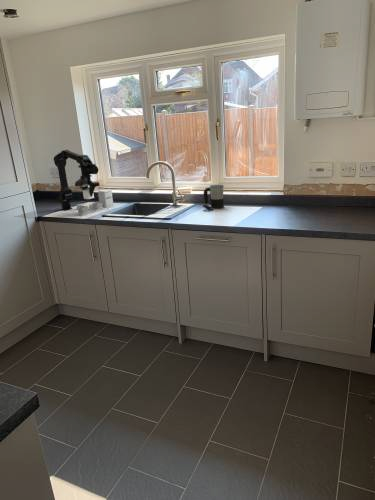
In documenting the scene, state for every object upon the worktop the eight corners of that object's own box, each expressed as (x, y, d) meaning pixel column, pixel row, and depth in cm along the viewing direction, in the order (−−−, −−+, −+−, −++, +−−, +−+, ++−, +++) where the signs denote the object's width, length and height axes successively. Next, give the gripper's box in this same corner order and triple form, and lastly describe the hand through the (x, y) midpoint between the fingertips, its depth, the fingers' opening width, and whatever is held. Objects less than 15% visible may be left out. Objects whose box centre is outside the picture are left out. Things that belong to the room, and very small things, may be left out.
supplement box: (106, 208, 292) (104, 191, 288) (99, 208, 296) (97, 191, 293) (113, 206, 298) (111, 189, 294) (107, 206, 302) (105, 189, 298)
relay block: (77, 209, 297) (76, 205, 296) (79, 208, 301) (79, 203, 299) (81, 209, 296) (81, 205, 295) (84, 208, 299) (83, 203, 298)
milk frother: (224, 205, 274) (223, 184, 270) (224, 210, 259) (223, 187, 255) (203, 206, 276) (202, 185, 272) (202, 211, 261) (201, 189, 257)
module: (83, 198, 280) (82, 189, 278) (89, 197, 285) (88, 188, 283) (88, 199, 278) (87, 190, 276) (94, 197, 282) (92, 188, 280)
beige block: (89, 209, 294) (88, 204, 293) (93, 208, 297) (92, 203, 296) (93, 210, 291) (92, 205, 290) (97, 209, 293) (96, 204, 292)
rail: (76, 215, 277) (75, 207, 276) (99, 208, 295) (98, 201, 293) (82, 215, 274) (81, 207, 272) (105, 208, 291) (104, 201, 290)
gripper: (67, 175, 275) (70, 198, 279) (86, 175, 265) (89, 199, 270) (79, 173, 284) (82, 195, 288) (98, 173, 274) (101, 196, 278)
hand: (88, 196), depth 281 cm, fingers closed on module, 4 cm apart
